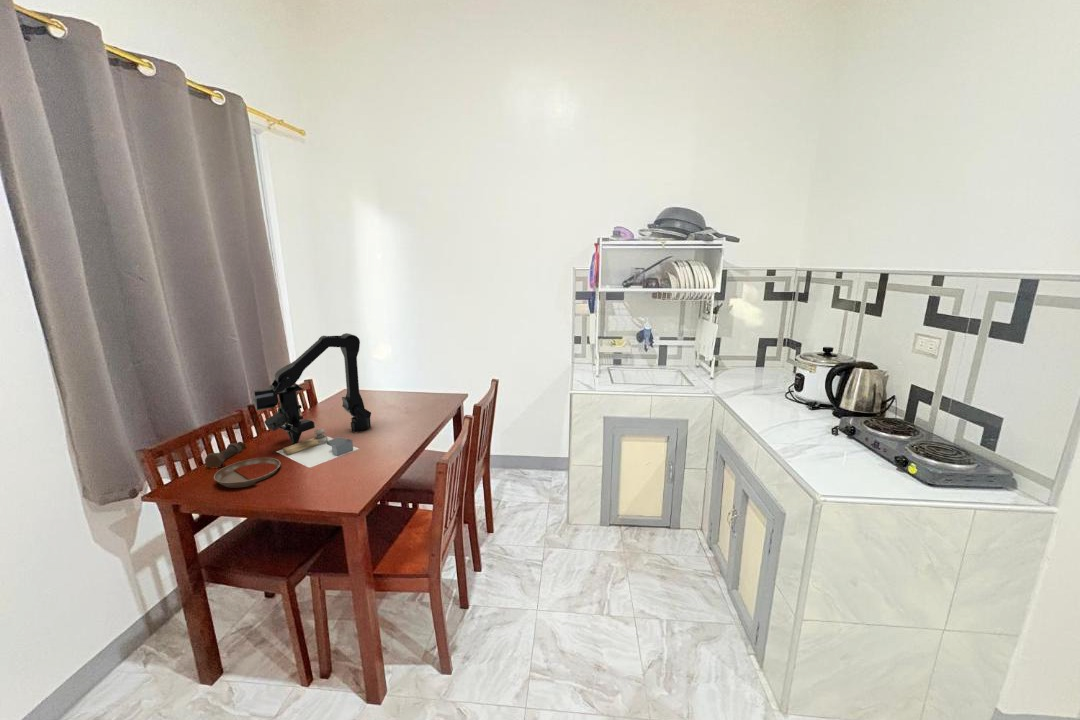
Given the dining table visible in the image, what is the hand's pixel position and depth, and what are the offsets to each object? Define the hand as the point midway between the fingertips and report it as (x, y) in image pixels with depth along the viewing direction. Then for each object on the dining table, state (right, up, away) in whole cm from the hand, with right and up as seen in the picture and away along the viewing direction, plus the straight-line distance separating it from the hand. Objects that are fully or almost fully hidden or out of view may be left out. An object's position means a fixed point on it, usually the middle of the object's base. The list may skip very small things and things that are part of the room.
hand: (295, 444), depth 160 cm
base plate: (+10, -2, -4) cm, 11 cm away
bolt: (-19, -4, -7) cm, 21 cm away
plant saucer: (-3, -7, -21) cm, 22 cm away
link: (+5, -1, -2) cm, 6 cm away
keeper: (+19, -1, -5) cm, 20 cm away
